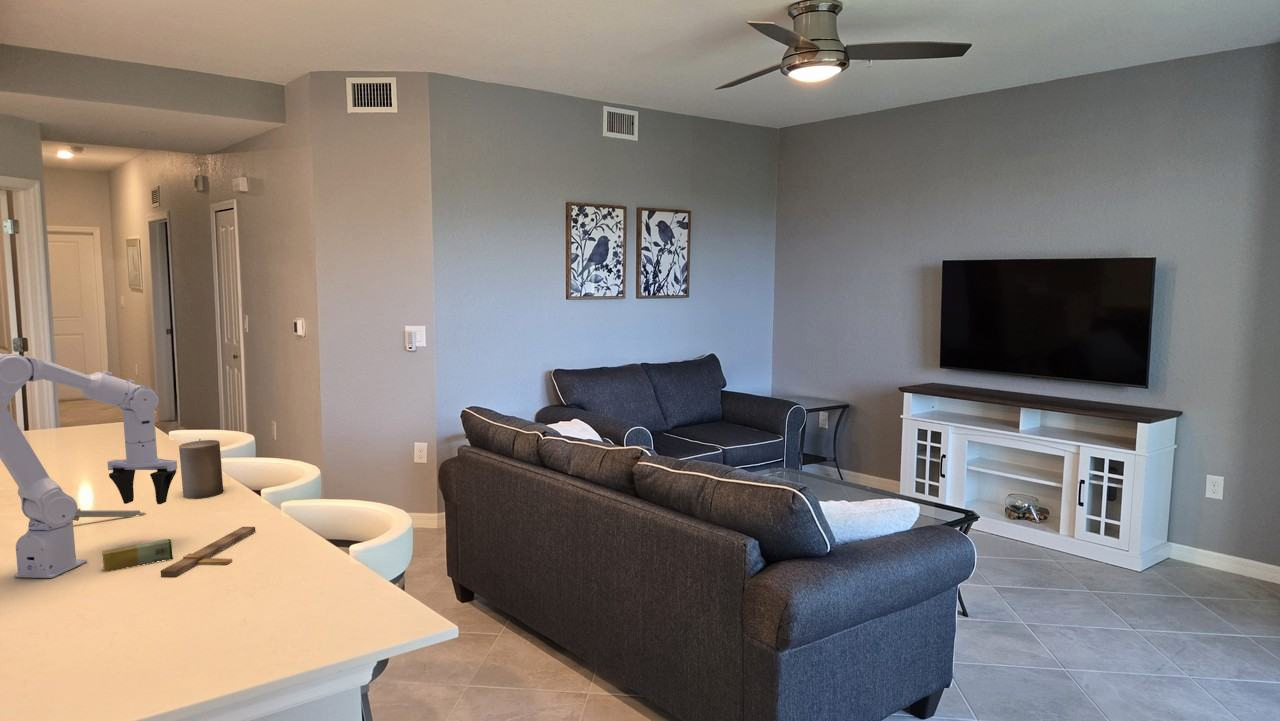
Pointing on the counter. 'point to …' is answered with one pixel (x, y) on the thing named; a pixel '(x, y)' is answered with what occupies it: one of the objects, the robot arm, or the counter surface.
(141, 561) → the medication box
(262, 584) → the counter surface
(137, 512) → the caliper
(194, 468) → the pillar candle
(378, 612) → the counter surface
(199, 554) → the brown wooden cross
